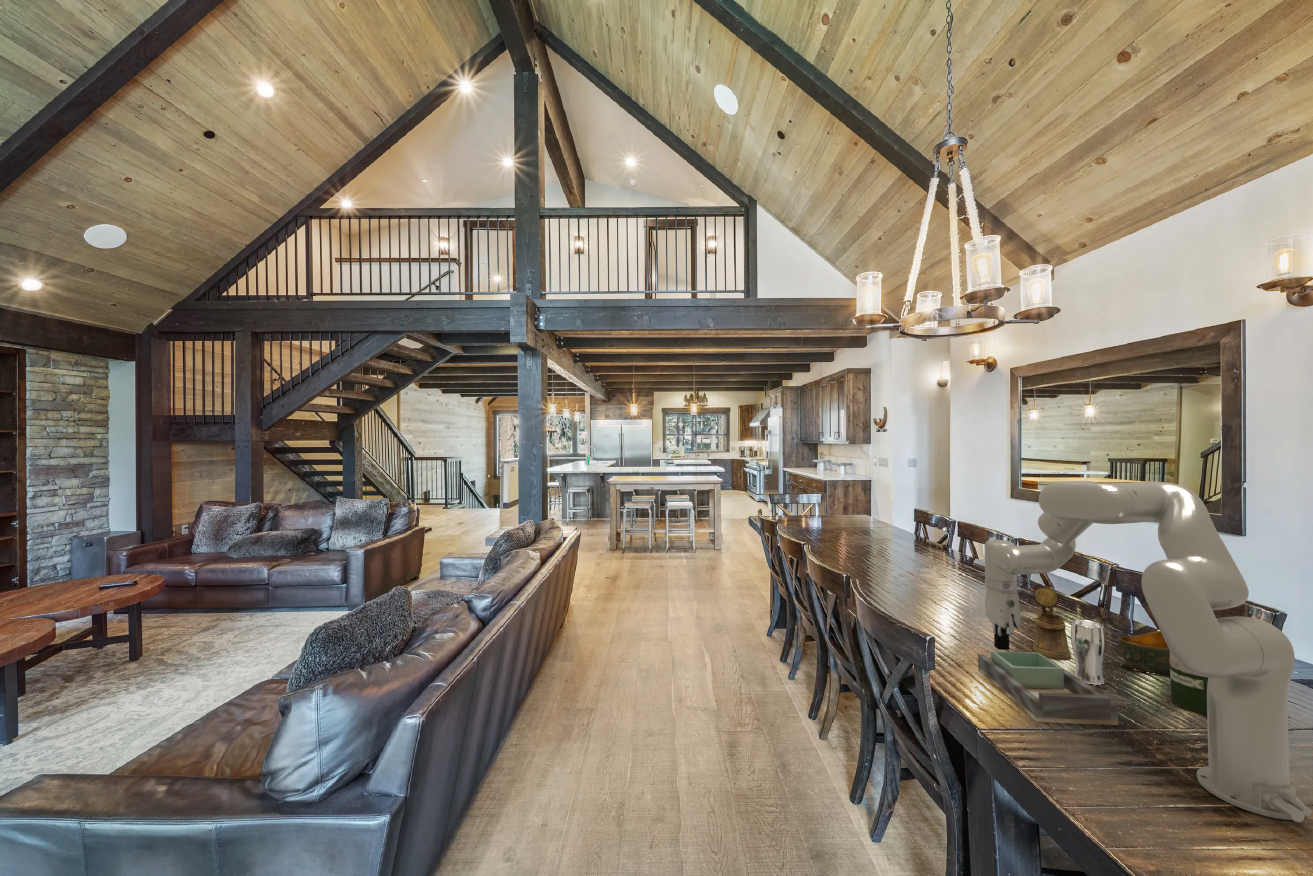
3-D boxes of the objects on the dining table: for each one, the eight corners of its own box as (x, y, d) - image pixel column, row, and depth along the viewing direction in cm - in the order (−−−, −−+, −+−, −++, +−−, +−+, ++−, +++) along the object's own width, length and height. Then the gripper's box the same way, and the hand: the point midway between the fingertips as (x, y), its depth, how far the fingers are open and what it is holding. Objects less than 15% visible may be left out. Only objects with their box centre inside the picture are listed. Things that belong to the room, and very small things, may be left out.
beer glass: (1113, 687, 130) (1111, 629, 131) (1082, 685, 132) (1080, 627, 132) (1095, 675, 137) (1094, 619, 137) (1066, 673, 139) (1064, 618, 139)
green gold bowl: (1226, 688, 129) (1225, 647, 129) (1122, 672, 139) (1120, 635, 139) (1205, 668, 140) (1203, 631, 140) (1110, 655, 150) (1108, 620, 150)
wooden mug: (1064, 645, 157) (1063, 587, 157) (1074, 662, 145) (1072, 599, 145) (1029, 640, 161) (1027, 583, 161) (1035, 656, 149) (1034, 595, 150)
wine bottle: (1163, 701, 123) (1160, 577, 123) (1182, 695, 126) (1178, 574, 126) (1208, 718, 116) (1204, 586, 116) (1226, 711, 119) (1223, 582, 119)
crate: (1064, 688, 128) (1063, 669, 128) (1012, 687, 129) (1012, 667, 129) (1039, 670, 138) (1038, 652, 138) (991, 669, 139) (991, 651, 139)
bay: (1118, 725, 114) (1117, 698, 114) (1036, 721, 116) (1035, 695, 116) (1044, 672, 140) (1043, 650, 140) (978, 670, 142) (977, 648, 142)
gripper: (1031, 592, 137) (1032, 660, 137) (1000, 577, 152) (1001, 638, 152) (1001, 592, 138) (1002, 659, 138) (973, 576, 153) (974, 637, 153)
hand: (1001, 648), depth 145 cm, fingers closed
